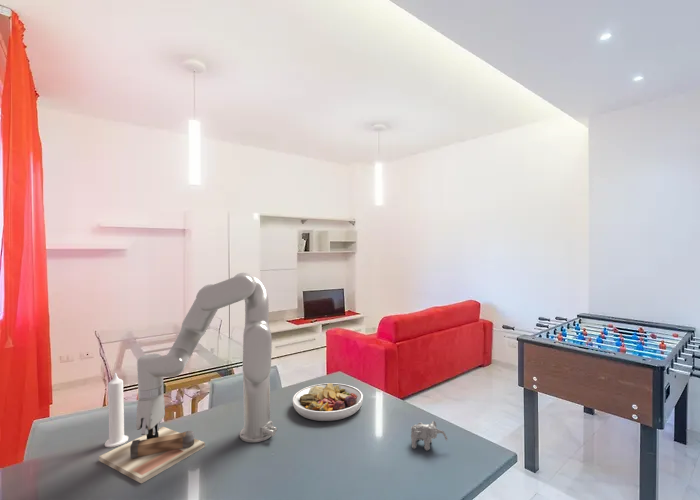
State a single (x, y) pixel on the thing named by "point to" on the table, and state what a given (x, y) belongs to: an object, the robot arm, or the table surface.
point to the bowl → (327, 401)
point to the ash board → (147, 458)
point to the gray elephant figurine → (425, 434)
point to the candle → (116, 413)
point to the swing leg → (161, 444)
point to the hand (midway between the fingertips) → (152, 444)
